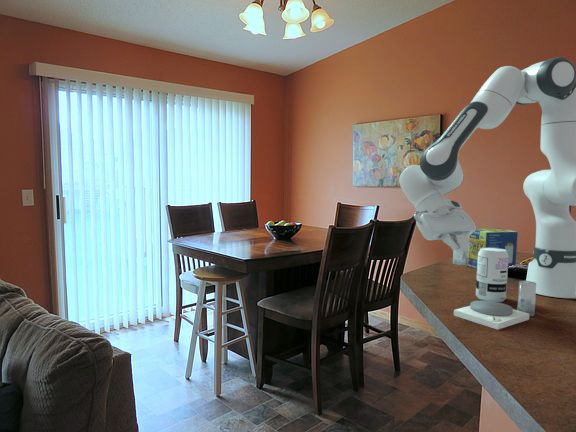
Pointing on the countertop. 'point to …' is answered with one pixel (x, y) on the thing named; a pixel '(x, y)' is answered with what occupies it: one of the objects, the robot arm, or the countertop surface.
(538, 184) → the robot arm
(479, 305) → the scale
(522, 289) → the cylinder
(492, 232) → the protein box
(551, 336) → the countertop surface
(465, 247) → the glossy grey rounded cylinder
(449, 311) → the countertop surface
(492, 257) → the supplement can
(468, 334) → the countertop surface
